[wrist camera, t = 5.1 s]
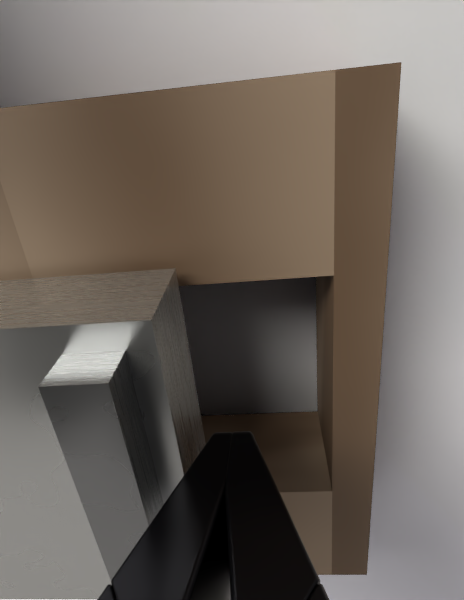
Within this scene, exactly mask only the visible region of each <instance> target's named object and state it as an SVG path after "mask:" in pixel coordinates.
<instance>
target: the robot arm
mask: <svg viewBox="0 0 464 600" xmlns="http://www.w3.org/2000/svg"><path fill="white" fill-rule="evenodd" d="M111 584H112V585H111ZM111 584H108V585H107V586H106V588H105V589H104V591H103V592H102V594H101V595H100V596H99V598H98V599H97V600H329V598H328V596H327V594H326V592H325V589H324V587H323V585H322V584H320V579H319V577H318V575H317V573H316V570H315V568H314V566H313V564H312V562H311V560H310V557H309V555H308V553H307V551H306V549H305V546H304V544H303V542H302V540H301V538H300V536H299V533H298V531H297V529H296V527H295V525H294V523H293V520H292V518H291V516H290V514H289V512H288V509H287V507H286V505H285V503H284V501H283V499H282V496H281V494H280V492H279V490H278V488H277V486H276V483H275V481H274V479H273V477H272V475H271V472H270V470H269V468H268V466H267V464H266V462H265V459H264V457H263V455H262V453H261V451H260V449H259V446H258V444H257V442H256V440H255V438H254V435H253V434H252V432H250V431H237V432H233V433H232V432H216V433H214V434H212V436H211V437H210V438H209V440H208V441H207V443H206V444H205V446H204V447H203V449H202V450H201V451H200V453H199V454H198V456H197V457H196V459H195V460H194V462H193V463H192V464H191V466H190V467H189V469H188V470H187V472H186V473H185V474H184V476H183V477H182V479H181V480H180V482H179V483H178V485H177V486H176V487H175V489H174V490H173V492H172V493H171V495H170V496H169V498H168V499H167V500H166V502H165V503H164V505H163V506H162V508H161V509H160V510H159V512H158V513H157V515H156V516H155V518H154V519H153V521H152V522H151V523H150V525H149V526H148V528H147V529H146V531H145V532H144V534H143V535H142V536H141V538H140V539H139V541H138V542H137V544H136V545H135V546H134V548H133V549H132V551H131V552H130V554H129V555H128V557H127V558H126V559H125V561H124V562H123V564H122V565H121V567H120V568H119V569H118V571H117V572H116V574H115V575H114V577H113V578H112V580H111Z"/></svg>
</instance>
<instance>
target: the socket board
mask: <svg viewBox="0 0 464 600" xmlns="http://www.w3.org/2000/svg"><path fill="white" fill-rule="evenodd" d="M400 74H401V62H400V63H391V64H383V65H374V66H365V67H356V68H348V69H339V70H330V71H321V72H313V73H304V74H295V75H286V76H277V77H269V78H260V79H251V80H242V81H234V82H225V83H216V84H207V85H198V86H190V87H181V88H172V89H163V90H155V91H146V92H137V93H128V94H119V95H111V96H102V97H93V98H84V99H76V100H67V101H58V102H49V103H41V104H32V105H23V106H14V107H5V108H0V281H6V280H20V279H34V278H48V277H61V276H75V275H89V274H103V273H117V272H131V271H144V270H158V269H172V268H176V273H177V279H178V285H179V286H186V285H201V284H216V283H230V282H245V281H260V280H274V279H289V278H304V277H316V327H317V403H318V411H313V412H287V413H260V414H234V415H208V416H201V420H202V426H203V432H204V437H205V443H207V441H208V440H209V438H210V437H211V436H212V434H214V433H216V432H232V433H233V432H237V431H250V432H252V434H253V435H254V438H255V440H256V442H257V444H258V446H259V449H260V451H261V453H262V455H263V457H264V459H265V462H266V464H267V466H268V468H269V470H270V472H271V475H272V477H273V479H274V481H275V483H276V486H277V488H278V490H279V492H280V494H281V496H282V499H283V501H284V503H285V505H286V507H287V509H288V512H289V514H290V516H291V518H292V520H293V523H294V525H295V527H296V529H297V531H298V533H299V536H300V538H301V540H302V542H303V544H304V546H305V549H306V551H307V553H308V555H309V557H310V560H311V562H312V564H313V566H314V568H315V570H316V573H317V575H367V563H368V548H369V533H370V519H371V504H372V489H373V474H374V459H375V445H376V430H377V415H378V400H379V385H380V370H381V356H382V341H383V326H384V311H385V296H386V282H387V267H388V252H389V237H390V222H391V207H392V193H393V178H394V163H395V148H396V133H397V119H398V104H399V89H400Z"/></svg>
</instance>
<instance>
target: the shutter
mask: <svg viewBox="0 0 464 600" xmlns="http://www.w3.org/2000/svg"><path fill="white" fill-rule="evenodd" d="M205 444H206V443H205V437H204V432H203V426H202V420H201V414H200V408H199V402H198V396H197V391H196V385H195V379H194V373H193V367H192V361H191V355H190V350H189V344H188V338H187V332H186V326H185V320H184V314H183V308H182V303H181V297H180V291H179V285H178V279H177V273H176V268H172V269H158V270H144V271H131V272H117V273H103V274H89V275H75V276H61V277H48V278H34V279H20V280H6V281H0V599H98V598H99V596H100V595H101V594H102V592H103V591H104V589H105V588H106V586H107V585H108V584H111V580H112V578H113V577H114V575H115V574H116V572H117V571H118V569H119V568H120V567H121V565H122V564H123V562H124V561H125V559H126V558H127V557H128V555H129V554H130V552H131V551H132V549H133V548H134V546H135V545H136V544H137V542H138V541H139V539H140V538H141V536H142V535H143V534H144V532H145V531H146V529H147V528H148V526H149V525H150V523H151V522H152V521H153V519H154V518H155V516H156V515H157V513H158V512H159V510H160V509H161V508H162V506H163V505H164V503H165V502H166V500H167V499H168V498H169V496H170V495H171V493H172V492H173V490H174V489H175V487H176V486H177V485H178V483H179V482H180V480H181V479H182V477H183V476H184V474H185V473H186V472H187V470H188V469H189V467H190V466H191V464H192V463H193V462H194V460H195V459H196V457H197V456H198V454H199V453H200V451H201V450H202V449H203V447H204V446H205ZM111 585H112V584H111Z"/></svg>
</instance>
